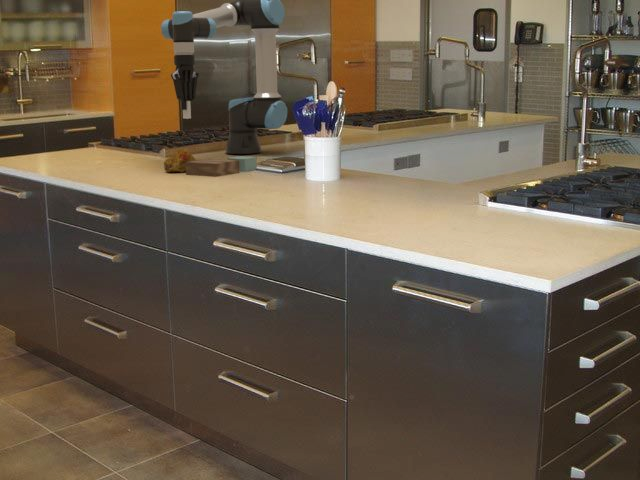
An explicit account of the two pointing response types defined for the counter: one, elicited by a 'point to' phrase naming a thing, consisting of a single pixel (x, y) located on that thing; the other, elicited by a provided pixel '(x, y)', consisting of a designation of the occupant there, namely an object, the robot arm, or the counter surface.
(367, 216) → the counter surface
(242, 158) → the teal block
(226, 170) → the walnut block
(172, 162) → the rock
